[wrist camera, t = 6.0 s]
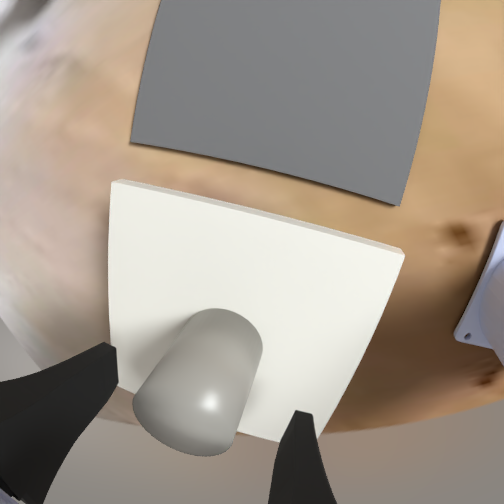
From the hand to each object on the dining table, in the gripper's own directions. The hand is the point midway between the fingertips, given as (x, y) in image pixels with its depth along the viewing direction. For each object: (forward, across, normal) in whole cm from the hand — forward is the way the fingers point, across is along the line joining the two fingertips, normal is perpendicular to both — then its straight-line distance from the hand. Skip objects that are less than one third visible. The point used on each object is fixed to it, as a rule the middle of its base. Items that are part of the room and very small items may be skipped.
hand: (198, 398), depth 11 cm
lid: (+4, 0, 0) cm, 4 cm away
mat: (+8, +1, -15) cm, 17 cm away
